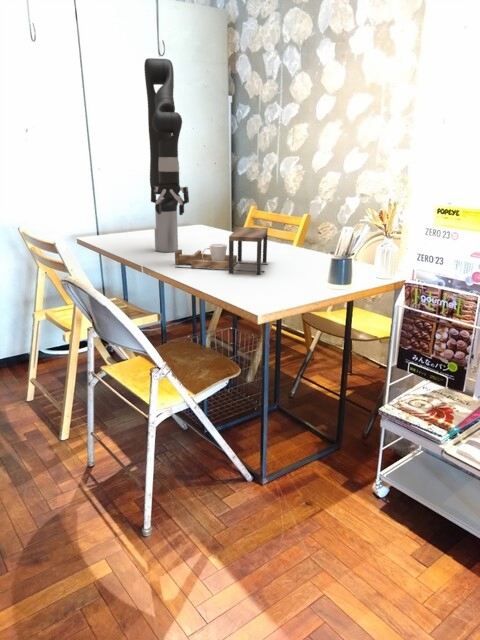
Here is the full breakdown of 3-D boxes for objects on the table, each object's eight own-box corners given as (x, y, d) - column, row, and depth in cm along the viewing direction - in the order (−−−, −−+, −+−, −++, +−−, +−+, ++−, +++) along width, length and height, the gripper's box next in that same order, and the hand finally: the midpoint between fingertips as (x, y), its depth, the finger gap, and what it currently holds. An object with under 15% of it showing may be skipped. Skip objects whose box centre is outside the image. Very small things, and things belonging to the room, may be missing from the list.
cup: (229, 266, 191) (229, 246, 189) (204, 268, 188) (204, 247, 186) (224, 263, 198) (224, 242, 195) (199, 264, 195) (199, 243, 192)
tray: (172, 266, 189) (172, 254, 187) (181, 258, 201) (181, 247, 199) (231, 269, 186) (231, 257, 184) (236, 261, 198) (236, 250, 196)
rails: (175, 267, 189) (174, 267, 189) (183, 260, 201) (183, 259, 201) (264, 272, 184) (264, 271, 184) (267, 264, 196) (267, 264, 196)
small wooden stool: (228, 273, 182) (229, 236, 177) (238, 260, 202) (238, 226, 198) (260, 275, 180) (261, 237, 176) (266, 261, 201) (267, 228, 196)
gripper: (147, 170, 183) (149, 215, 188) (184, 171, 180) (185, 216, 185) (153, 169, 189) (155, 212, 195) (190, 170, 187) (191, 214, 192)
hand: (170, 214), depth 190 cm, fingers open, 8 cm apart
